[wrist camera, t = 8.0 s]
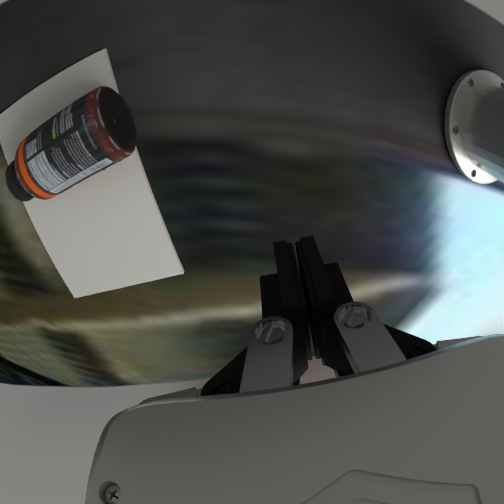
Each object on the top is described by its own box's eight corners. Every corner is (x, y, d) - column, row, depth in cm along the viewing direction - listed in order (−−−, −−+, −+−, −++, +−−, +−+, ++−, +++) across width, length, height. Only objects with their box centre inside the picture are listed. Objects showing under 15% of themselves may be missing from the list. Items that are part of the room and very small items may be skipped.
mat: (106, 48, 18) (104, 48, 17) (184, 271, 29) (183, 273, 29) (-5, 119, 18) (-7, 119, 18) (75, 295, 30) (74, 298, 29)
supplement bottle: (142, 123, 22) (48, 175, 23) (108, 70, 17) (11, 138, 18) (137, 172, 19) (33, 225, 20) (90, 110, 14) (-13, 187, 15)
